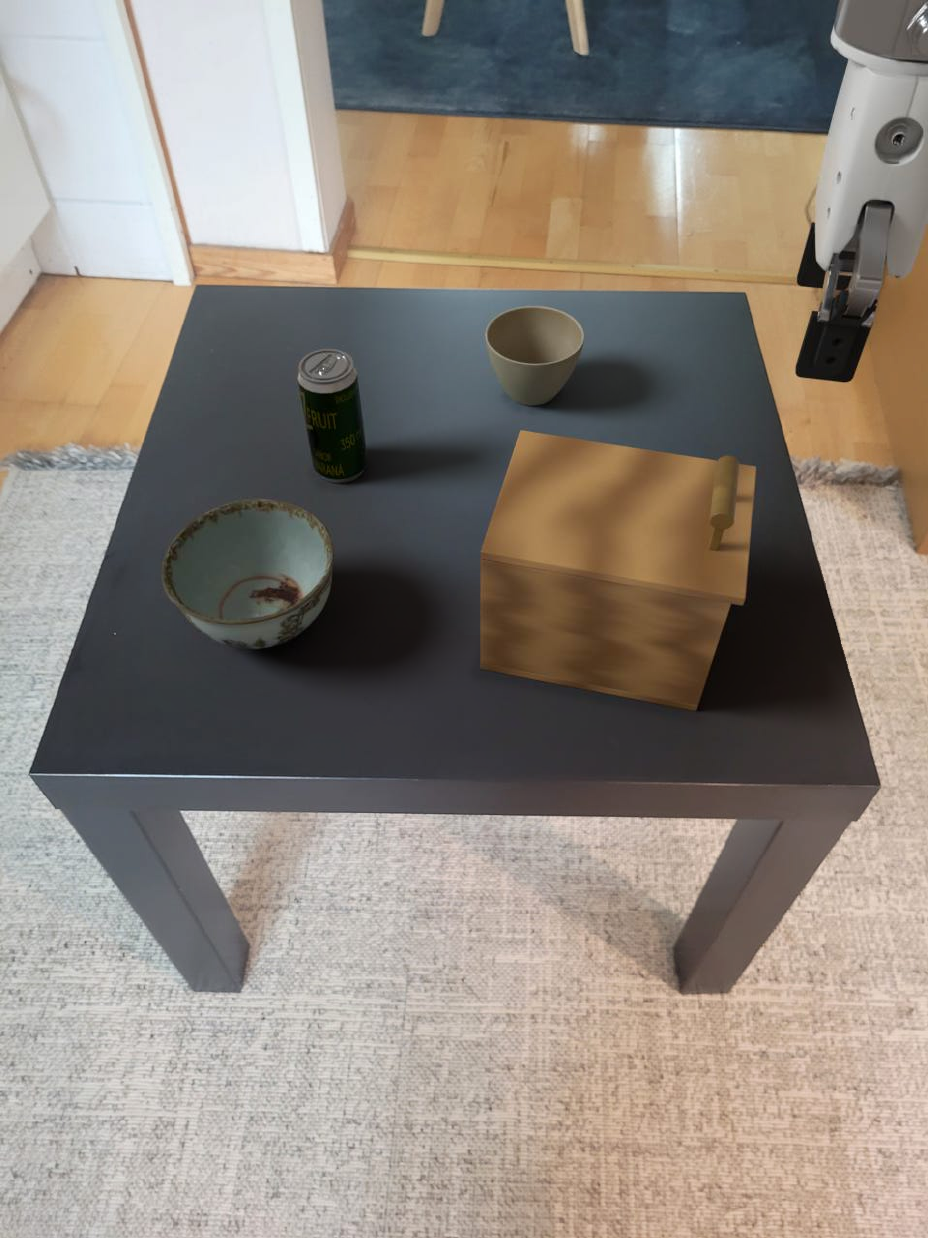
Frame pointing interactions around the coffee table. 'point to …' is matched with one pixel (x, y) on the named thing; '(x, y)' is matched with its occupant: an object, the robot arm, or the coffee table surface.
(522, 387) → the flower pot
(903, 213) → the robot arm
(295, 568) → the bowl
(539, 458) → the lid
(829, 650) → the coffee table surface
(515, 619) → the chest
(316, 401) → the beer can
